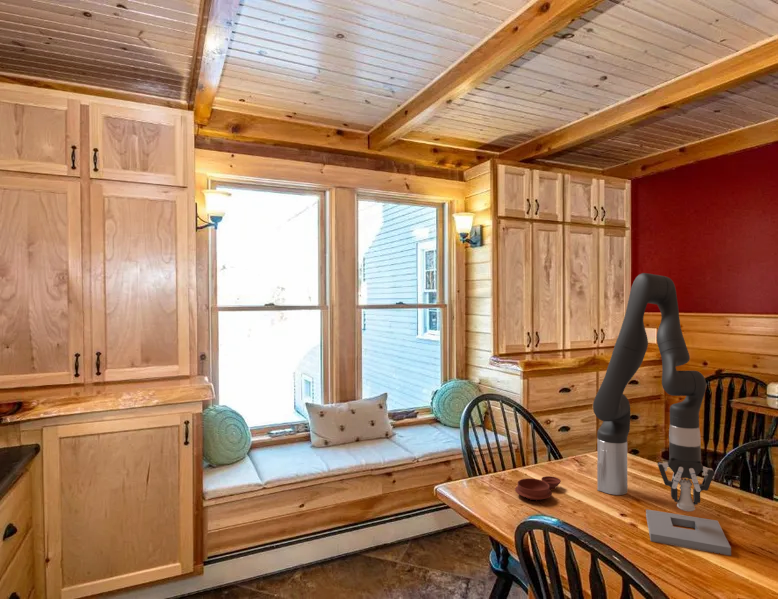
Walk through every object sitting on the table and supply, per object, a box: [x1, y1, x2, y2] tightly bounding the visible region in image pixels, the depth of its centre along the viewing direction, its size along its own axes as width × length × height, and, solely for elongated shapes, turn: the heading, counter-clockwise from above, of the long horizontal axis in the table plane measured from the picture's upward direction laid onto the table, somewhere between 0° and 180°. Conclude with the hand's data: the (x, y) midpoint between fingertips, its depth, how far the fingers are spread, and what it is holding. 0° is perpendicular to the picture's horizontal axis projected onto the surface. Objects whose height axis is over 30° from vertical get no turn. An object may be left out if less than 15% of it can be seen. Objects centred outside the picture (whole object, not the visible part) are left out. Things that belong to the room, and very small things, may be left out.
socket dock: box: [645, 509, 732, 556], centre depth 132 cm, size 18×16×2 cm
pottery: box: [514, 475, 562, 502], centre depth 159 cm, size 12×20×4 cm, turn 131°
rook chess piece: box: [676, 478, 696, 512], centre depth 133 cm, size 4×4×8 cm
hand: (685, 502), depth 133 cm, fingers closed on rook chess piece, 4 cm apart
